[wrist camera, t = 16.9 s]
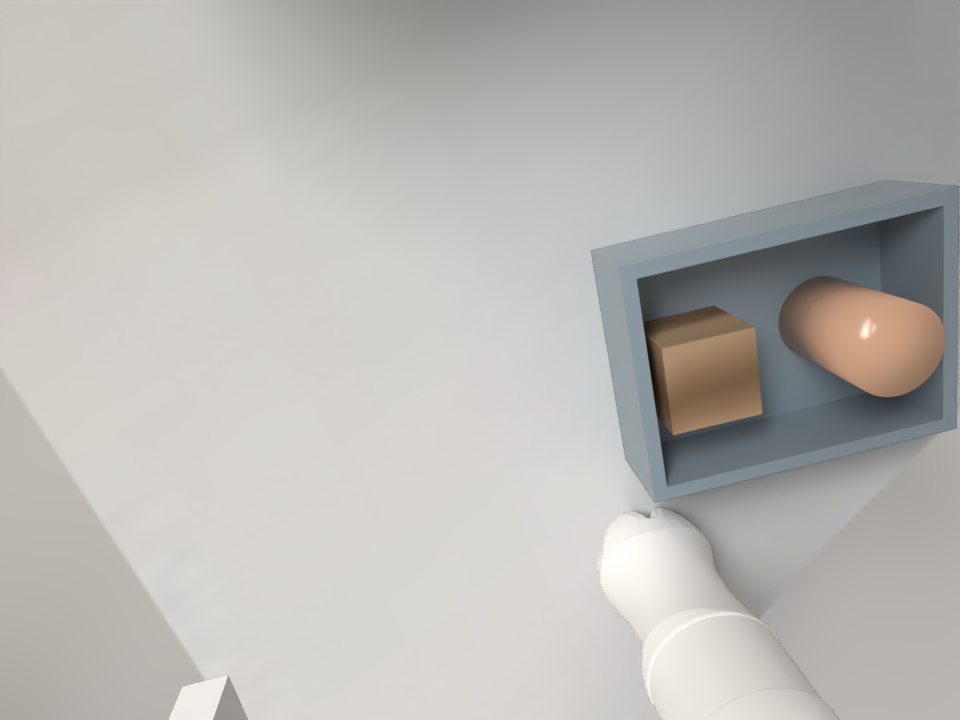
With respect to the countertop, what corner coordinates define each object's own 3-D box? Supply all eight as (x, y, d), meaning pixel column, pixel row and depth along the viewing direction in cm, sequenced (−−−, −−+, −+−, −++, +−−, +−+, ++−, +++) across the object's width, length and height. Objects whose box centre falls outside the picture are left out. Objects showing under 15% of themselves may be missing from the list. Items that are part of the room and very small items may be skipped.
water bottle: (692, 486, 44) (1020, 888, 20) (695, 578, 46) (994, 1037, 22) (584, 504, 44) (789, 934, 20) (592, 596, 46) (785, 1081, 22)
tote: (590, 250, 38) (618, 267, 33) (885, 180, 39) (959, 185, 34) (625, 459, 43) (655, 502, 38) (890, 394, 43) (956, 428, 38)
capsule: (775, 286, 40) (848, 314, 33) (856, 267, 40) (945, 291, 33) (781, 364, 41) (851, 406, 35) (859, 346, 41) (944, 384, 35)
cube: (632, 324, 40) (661, 349, 35) (714, 305, 40) (754, 327, 35) (643, 401, 41) (673, 435, 36) (722, 383, 41) (762, 413, 37)
